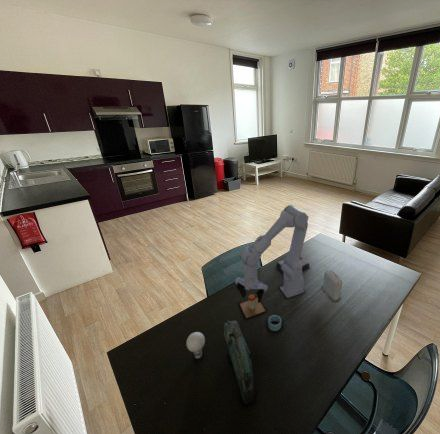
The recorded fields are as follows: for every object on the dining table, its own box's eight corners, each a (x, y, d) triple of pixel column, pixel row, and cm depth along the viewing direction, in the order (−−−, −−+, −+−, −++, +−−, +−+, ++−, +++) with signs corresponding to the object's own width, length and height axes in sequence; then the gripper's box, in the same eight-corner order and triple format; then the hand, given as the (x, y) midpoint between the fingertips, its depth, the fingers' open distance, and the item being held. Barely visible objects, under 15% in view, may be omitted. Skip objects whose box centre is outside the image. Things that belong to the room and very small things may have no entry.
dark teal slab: (225, 352, 88) (220, 313, 80) (242, 346, 91) (239, 307, 82) (240, 409, 72) (236, 368, 63) (260, 400, 74) (259, 359, 66)
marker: (253, 304, 109) (253, 293, 107) (256, 308, 107) (255, 297, 104) (248, 306, 108) (247, 295, 105) (250, 310, 106) (249, 299, 103)
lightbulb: (198, 368, 83) (193, 347, 78) (185, 358, 86) (180, 338, 81) (211, 353, 88) (207, 333, 83) (199, 345, 91) (195, 325, 86)
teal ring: (277, 318, 103) (277, 313, 101) (283, 328, 98) (283, 323, 97) (266, 322, 101) (266, 317, 99) (271, 333, 96) (271, 327, 95)
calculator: (309, 262, 132) (289, 271, 124) (309, 269, 134) (288, 278, 126) (297, 253, 140) (276, 261, 132) (296, 259, 142) (276, 267, 134)
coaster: (257, 297, 113) (257, 297, 113) (265, 311, 106) (265, 310, 106) (239, 304, 110) (239, 303, 110) (246, 318, 102) (246, 317, 102)
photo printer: (340, 298, 113) (344, 278, 108) (333, 301, 111) (336, 280, 106) (328, 285, 121) (331, 265, 116) (321, 287, 120) (323, 267, 115)
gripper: (230, 276, 99) (233, 300, 105) (262, 284, 94) (263, 310, 100) (238, 266, 105) (240, 290, 111) (269, 274, 100) (269, 298, 106)
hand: (251, 298), depth 106 cm, fingers open, 7 cm apart
